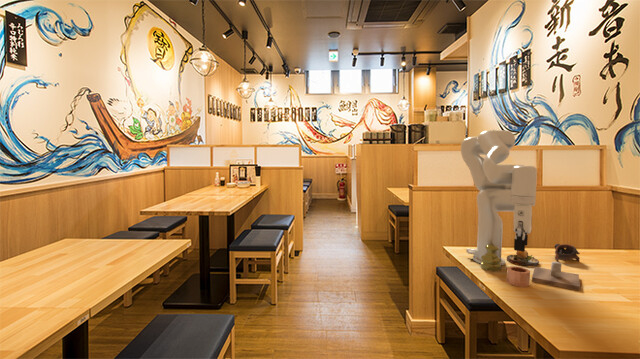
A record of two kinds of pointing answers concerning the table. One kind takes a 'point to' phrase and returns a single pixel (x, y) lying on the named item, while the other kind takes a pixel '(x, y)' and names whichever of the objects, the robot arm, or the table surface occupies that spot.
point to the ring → (518, 276)
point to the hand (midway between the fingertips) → (520, 247)
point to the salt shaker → (491, 259)
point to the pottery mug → (566, 252)
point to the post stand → (556, 277)
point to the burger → (522, 259)
